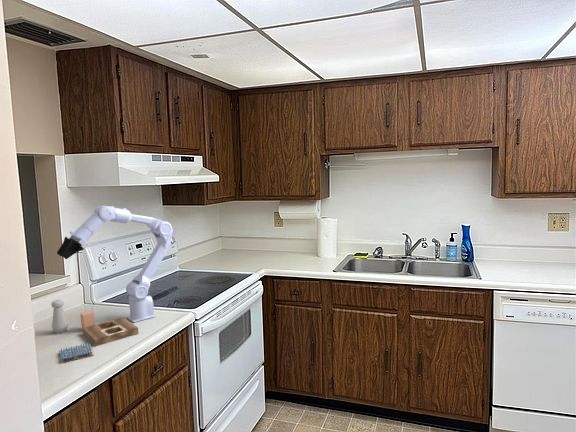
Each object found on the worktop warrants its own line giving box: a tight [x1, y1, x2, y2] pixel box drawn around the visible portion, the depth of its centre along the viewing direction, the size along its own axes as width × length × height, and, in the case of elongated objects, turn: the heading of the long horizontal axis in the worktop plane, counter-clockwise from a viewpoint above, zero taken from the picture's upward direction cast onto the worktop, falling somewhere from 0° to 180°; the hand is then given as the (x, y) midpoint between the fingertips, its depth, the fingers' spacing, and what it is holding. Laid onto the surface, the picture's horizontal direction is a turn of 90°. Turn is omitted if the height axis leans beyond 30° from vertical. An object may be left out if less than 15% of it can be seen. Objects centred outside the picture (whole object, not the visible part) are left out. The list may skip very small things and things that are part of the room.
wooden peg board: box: [82, 317, 140, 347], centre depth 167 cm, size 16×16×3 cm
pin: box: [79, 310, 96, 331], centre depth 173 cm, size 4×4×7 cm
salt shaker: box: [50, 299, 69, 334], centre depth 171 cm, size 6×6×13 cm
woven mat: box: [58, 343, 95, 364], centre depth 150 cm, size 10×11×2 cm
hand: (61, 256), depth 162 cm, fingers open, 7 cm apart
